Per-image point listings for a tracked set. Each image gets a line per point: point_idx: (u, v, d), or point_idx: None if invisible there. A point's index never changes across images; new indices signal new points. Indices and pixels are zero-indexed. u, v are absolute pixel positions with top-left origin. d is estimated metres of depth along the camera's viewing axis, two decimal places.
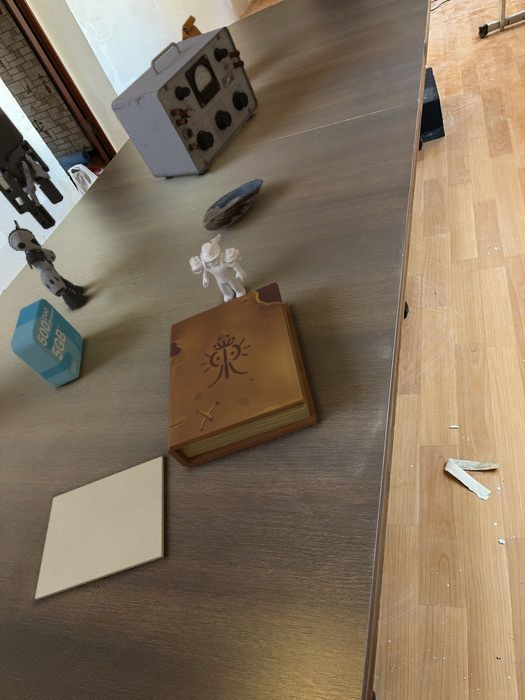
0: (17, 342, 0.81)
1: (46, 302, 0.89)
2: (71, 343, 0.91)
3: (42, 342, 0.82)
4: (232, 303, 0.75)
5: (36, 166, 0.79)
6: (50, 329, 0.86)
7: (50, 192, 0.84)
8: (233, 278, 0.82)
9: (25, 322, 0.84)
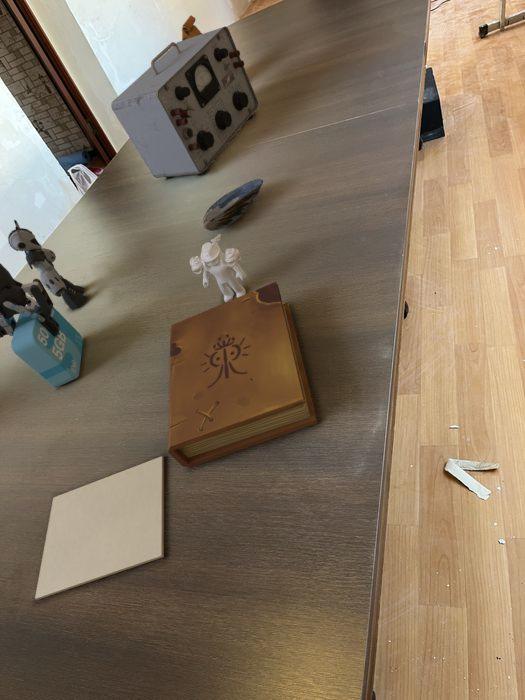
0: (17, 342, 0.81)
1: None
2: (71, 343, 0.91)
3: (42, 342, 0.82)
4: (232, 303, 0.75)
5: (19, 311, 0.81)
6: None
7: None
8: (233, 278, 0.82)
9: (25, 322, 0.84)
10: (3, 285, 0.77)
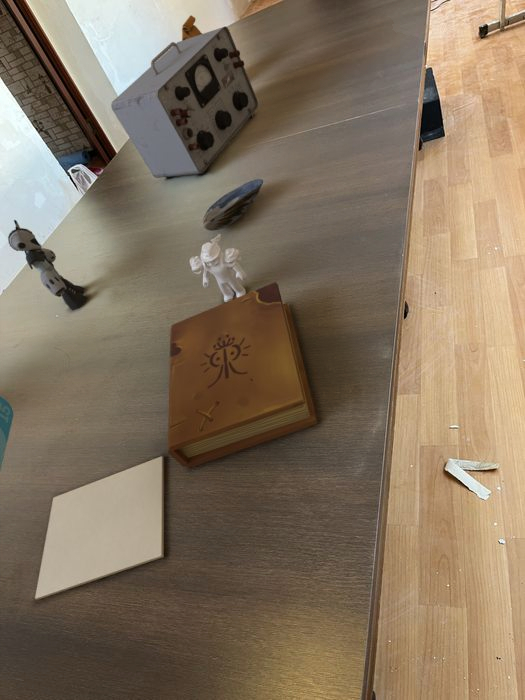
0: None
1: None
2: None
3: None
4: (232, 303, 0.75)
5: None
6: None
7: None
8: (233, 278, 0.82)
9: None
10: None
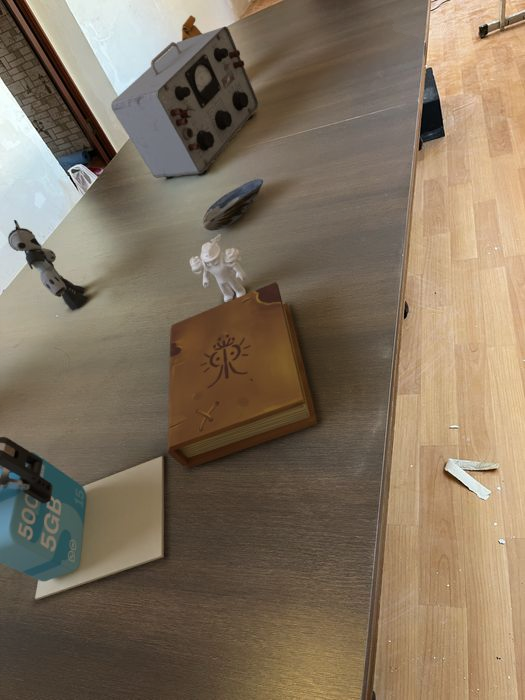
0: None
1: None
2: (69, 511, 0.64)
3: (25, 535, 0.55)
4: (232, 303, 0.75)
5: None
6: (38, 503, 0.59)
7: None
8: (233, 278, 0.82)
9: (1, 500, 0.57)
10: None
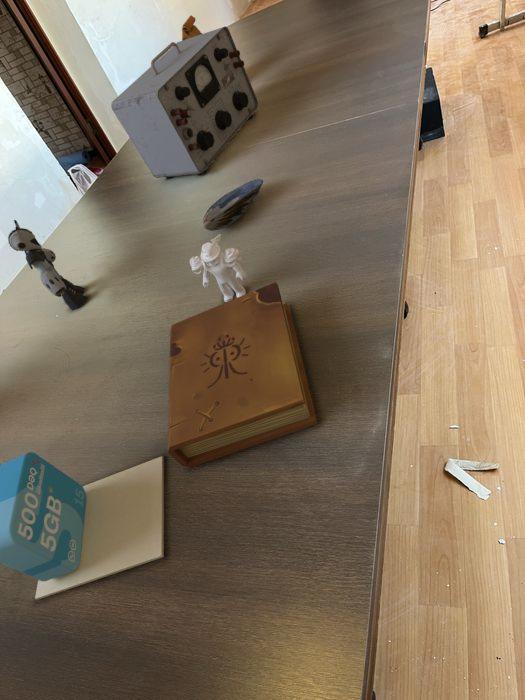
0: None
1: (34, 457, 0.61)
2: (69, 511, 0.64)
3: (25, 535, 0.55)
4: (232, 303, 0.75)
5: None
6: (38, 503, 0.59)
7: None
8: (233, 278, 0.82)
9: (1, 500, 0.57)
10: None
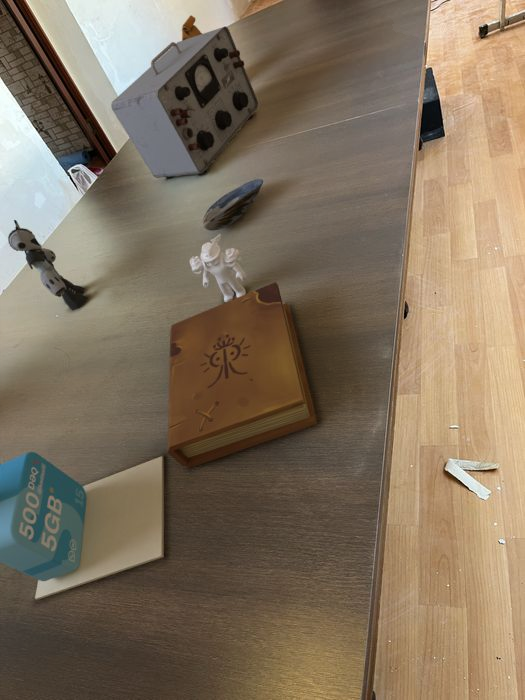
0: None
1: (35, 456, 0.61)
2: (69, 510, 0.64)
3: (26, 535, 0.55)
4: (232, 303, 0.75)
5: None
6: (39, 503, 0.59)
7: None
8: (233, 278, 0.82)
9: (2, 499, 0.57)
10: None
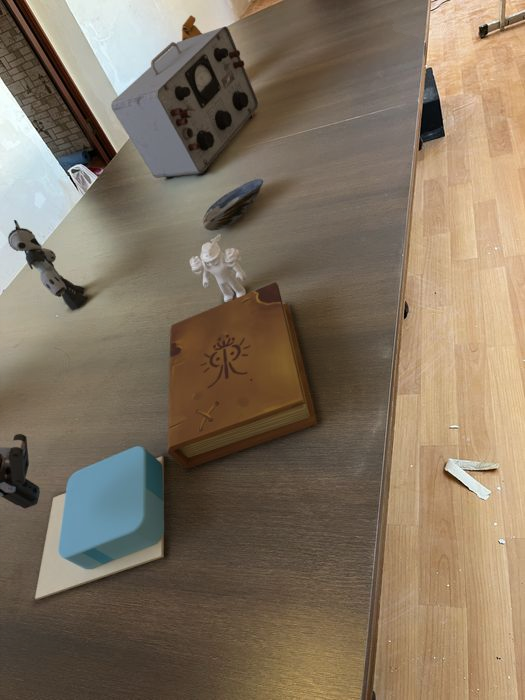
0: (150, 524, 0.57)
1: None
2: None
3: None
4: (232, 303, 0.75)
5: None
6: None
7: None
8: (233, 278, 0.82)
9: (154, 492, 0.61)
10: None
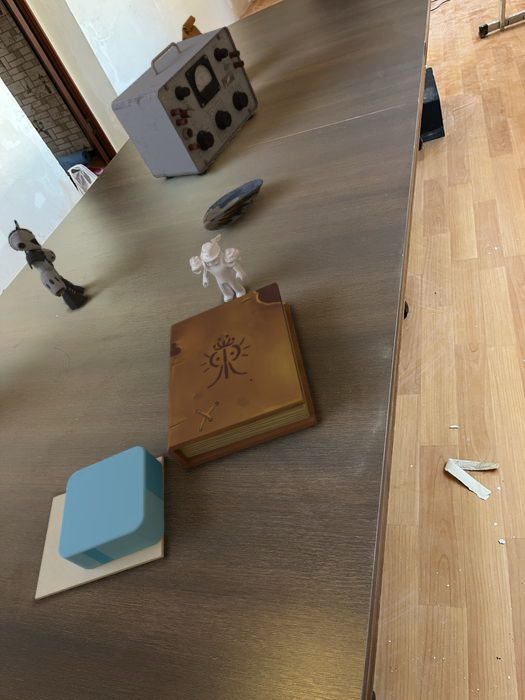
0: (150, 524, 0.57)
1: None
2: None
3: None
4: (232, 303, 0.75)
5: None
6: None
7: None
8: (233, 278, 0.82)
9: (154, 492, 0.61)
10: None
